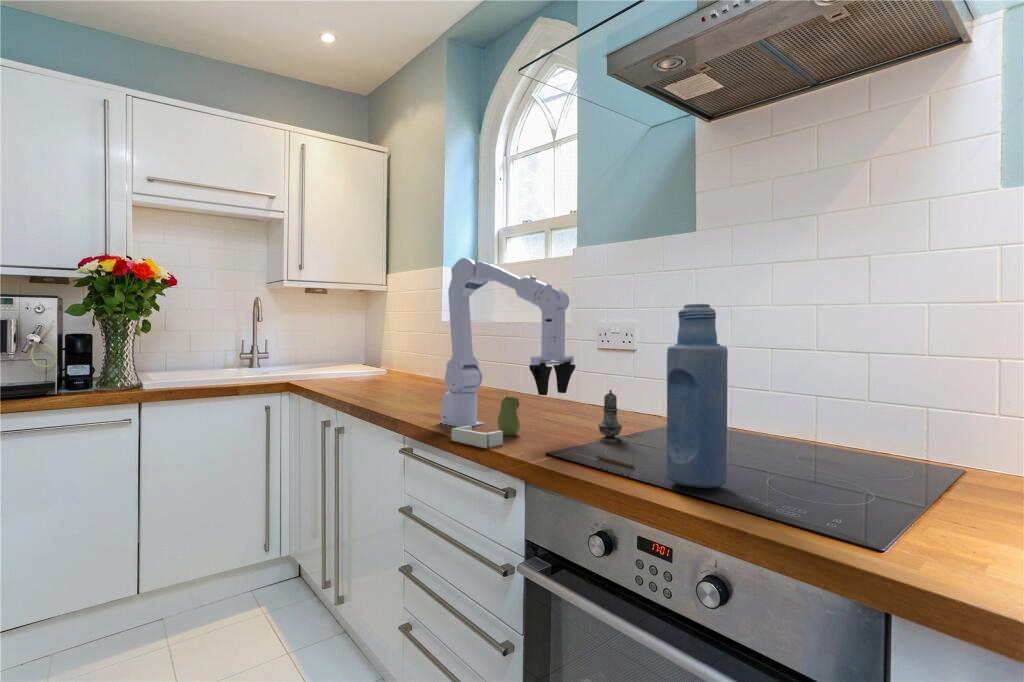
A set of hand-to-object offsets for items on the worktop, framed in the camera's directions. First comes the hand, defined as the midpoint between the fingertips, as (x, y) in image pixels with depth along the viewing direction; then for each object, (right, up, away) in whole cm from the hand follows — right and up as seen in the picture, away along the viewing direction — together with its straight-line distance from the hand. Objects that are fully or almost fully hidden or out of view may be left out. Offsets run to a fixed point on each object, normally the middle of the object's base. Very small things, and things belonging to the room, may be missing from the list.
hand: (552, 393), depth 130 cm
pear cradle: (-18, -10, -8) cm, 22 cm away
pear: (-11, -11, 0) cm, 15 cm away
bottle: (+21, -11, -39) cm, 46 cm away
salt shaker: (+13, -11, -3) cm, 18 cm away
